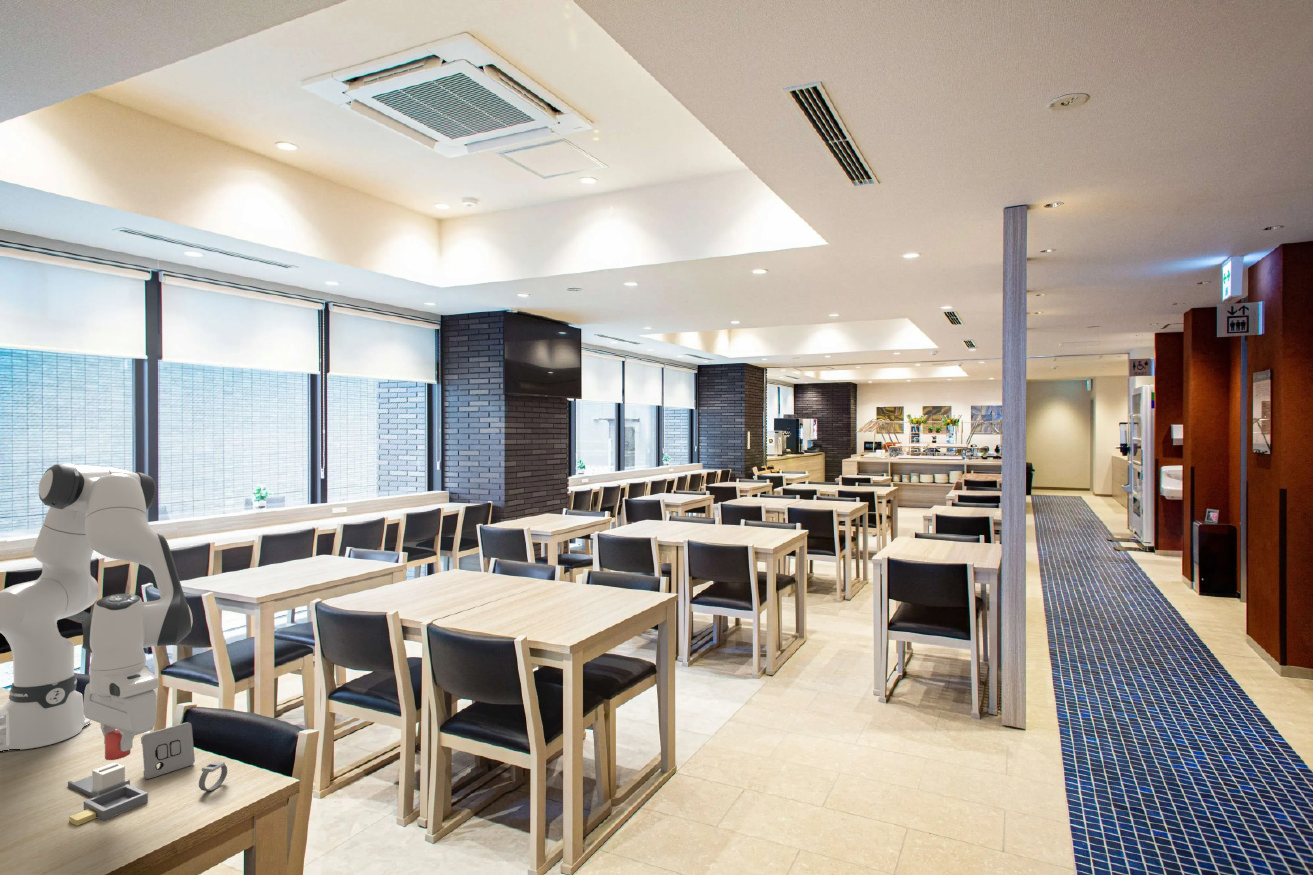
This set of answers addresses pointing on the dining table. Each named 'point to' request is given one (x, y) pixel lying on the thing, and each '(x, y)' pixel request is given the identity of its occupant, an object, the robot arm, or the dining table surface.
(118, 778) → the white slotted block
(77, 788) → the rail
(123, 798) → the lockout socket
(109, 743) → the cap
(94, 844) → the dining table surface
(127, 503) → the robot arm
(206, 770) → the wristwatch
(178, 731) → the electrical switch
